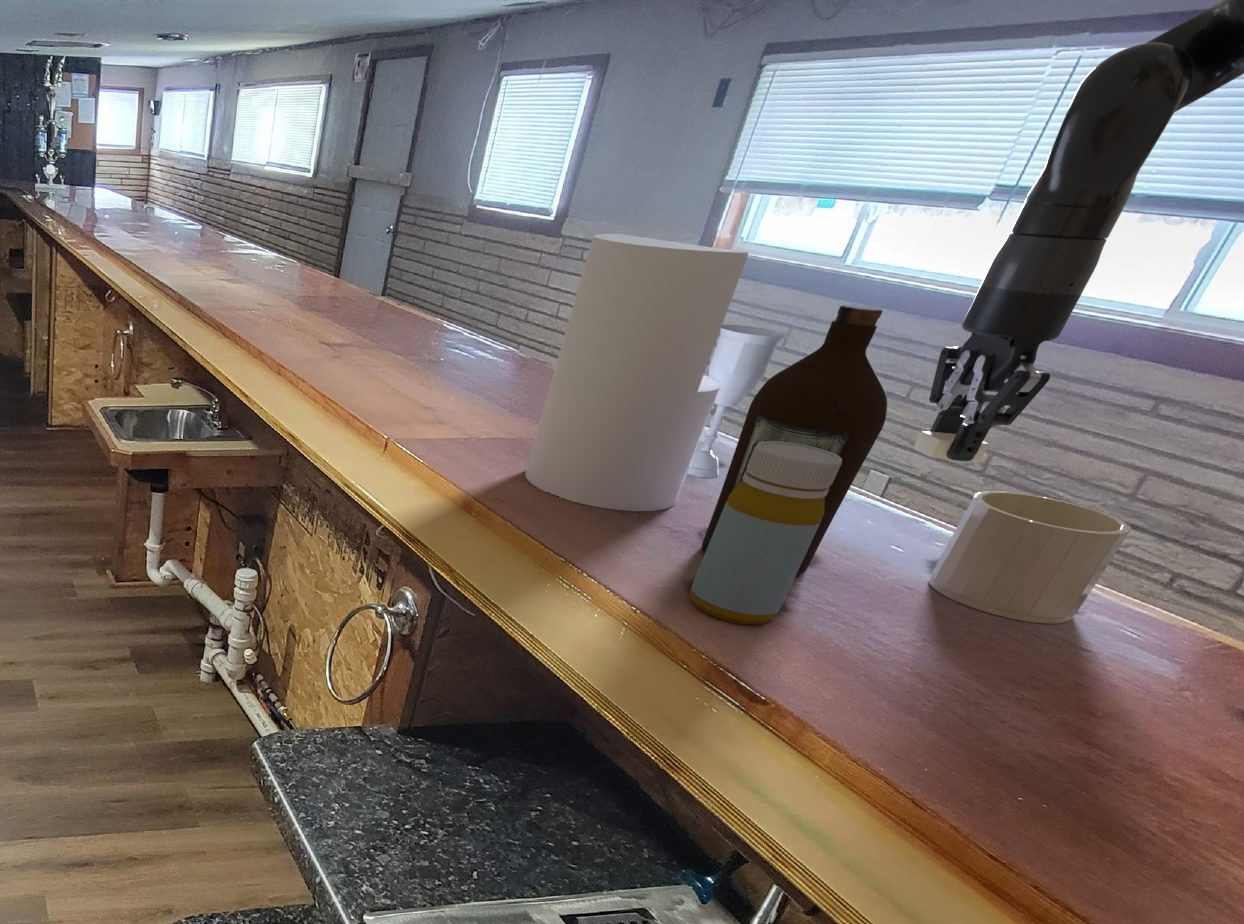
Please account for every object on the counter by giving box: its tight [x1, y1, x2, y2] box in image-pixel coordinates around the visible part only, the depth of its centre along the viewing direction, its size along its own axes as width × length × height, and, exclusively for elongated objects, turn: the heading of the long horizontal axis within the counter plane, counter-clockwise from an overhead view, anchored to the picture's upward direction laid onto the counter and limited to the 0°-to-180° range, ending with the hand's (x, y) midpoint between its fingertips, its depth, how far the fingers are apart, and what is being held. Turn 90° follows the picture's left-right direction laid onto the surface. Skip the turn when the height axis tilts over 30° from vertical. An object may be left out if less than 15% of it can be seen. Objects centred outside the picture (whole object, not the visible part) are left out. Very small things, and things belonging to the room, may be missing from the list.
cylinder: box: [524, 233, 749, 512], centre depth 106 cm, size 17×17×28 cm
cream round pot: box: [928, 490, 1132, 625], centre depth 86 cm, size 11×11×9 cm
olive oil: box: [701, 304, 888, 577], centre depth 88 cm, size 11×11×25 cm
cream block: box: [913, 430, 990, 463], centre depth 98 cm, size 5×4×2 cm
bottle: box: [688, 441, 842, 626], centre depth 80 cm, size 7×7×15 cm
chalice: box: [687, 324, 786, 479], centre depth 116 cm, size 7×7×18 cm
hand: (946, 453), depth 98 cm, fingers closed on cream block, 3 cm apart
